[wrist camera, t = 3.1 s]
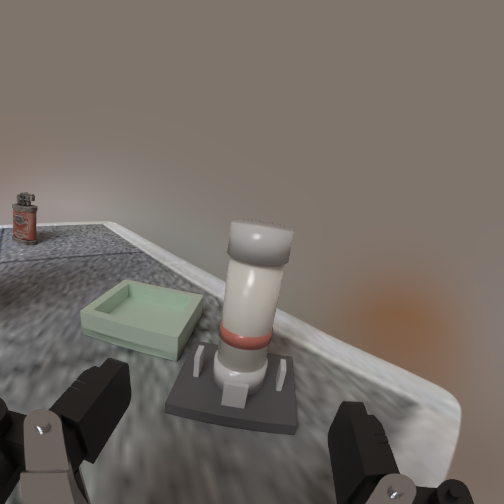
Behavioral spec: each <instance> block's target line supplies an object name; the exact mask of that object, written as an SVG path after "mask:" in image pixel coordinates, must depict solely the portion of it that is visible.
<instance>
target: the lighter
mask: <svg viewBox="0 0 504 504" xmlns="http://www.w3.org/2000/svg"><path fill="white" fill-rule="evenodd" d="M34 200H35V196H34V194H28V193H27V192H26V193H20V194H17V202H18V203H17V204H13V205H12V208H13V236H12V238H13V241H15V242H17V243H20V244H23V245H28V246H33V245H36V244H37V239H36V211H37V206H34V205H31V202H30V201H34Z"/></svg>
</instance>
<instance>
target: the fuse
mask: <svg viewBox="0 0 504 504" xmlns="http://www.w3.org/2000/svg"><path fill="white" fill-rule="evenodd" d="M293 233H294V231H293V230H292V229H290V228H288V227H285V226H281V225H277V224H273V223H267V222H261V221H253V220H233V221H231V228H230V235H229V244H228V251H227V253H228V255H229V256H230V259H229V266H228V274H227V282H226V289H225V297H224V305H223V313H222V319H221V324H220V332H219V335H220V338H219V346H218V350H217V351H216V353H215V357H214V367H213V381H214V383H215V384H216V386H217V387H219V388H220V389H221V390H223V388H224V382H225V380H226V381H231V382H237V383H243V384H249V387H248V392H247V395H249V394H253V393H255V392H257V391H259V390H260V389H261V388H262V386H263V382H264V378H265V374H266V369H267V364H268V360H267V358H266V356H267V352H268V347H269V344H270V341H271V336H272V331H273V322H274V317H275V312H276V307H277V302H278V297H279V292H280V287H281V281H282V276H283V271H284V265H285V264H287V263H288V261H289V255H290V250H291V244H292V239H293Z"/></svg>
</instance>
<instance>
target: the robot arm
mask: <svg viewBox="0 0 504 504" xmlns="http://www.w3.org/2000/svg"><path fill="white" fill-rule="evenodd" d="M130 400H131V385H130V374H129V366H128V364H127V363H125V362H122V361H119V360H115V359H112V358H108V359H107V360H106V361H105V362H104V363H103V364H102V365H101V366H100V367H97V366H93V367H91V368H89V369H87V370H85V371H84V372H83V373H82V374H81V375H80V376H79V377H78V378H77V381H74V383H73V384H72V385H71V387H69V388H68V389H67V390H66V391H65V392H64V393H63V395H62V396H61V397H60V398H59V399H58V400H57V401H56V402H55V403H54V405H53V406H52V407H51V408H50V409H49V410H43V409H41V410H35V411H32V412H31V413H29V414H28V415H24V414H20V413H16V412H13V411H9V410H8V408H7V406H6V404H5V402H4V401H3V400H2V399H1V398H0V504H5V502H6V501H7V499H8V497H9V496H10V494H11V492H12V491H13V489H14V488H15V486H16V484H17V483H18V481H19V480H21V489H22V496H23V502H24V504H91V503H90V500H89V497H88V493H87V490H86V487H85V483H84V479H83V476H82V472H81V468H80V464H81V463H82V461H83V460H86V461H88V462H90V463H92V464H94V462H95V461H96V459H97V457H98V456H99V454H100V452H101V451H102V449H103V447H104V446H105V444H106V442H107V441H108V439H109V437H110V436H111V434H112V432H113V431H114V429H115V427H116V426H117V424H118V423H119V421H120V419H121V418H122V416H123V414H124V413H125V411H126V410H127V408H128V406H129V404H130ZM328 447H329V453H330V459H331V466H332V472H333V479H334V485H335V492H336V500H337V504H474V503H473V500H472V497H471V495H470V492H469V490H468V488H467V486H466V485H465V484H464V483H463V482H461V481H458V480H455V479H450V480H446V481H444V482H443V483H441V484H440V485H439V487H438V488H428V487H418V486H415V484H414V482H413V481H412V480H411V479H410V478H408V477H407V476H405V475H402V474H400V473H399V470H398V467H397V464H396V461H395V459H394V456H393V453H392V450H391V448H390V445H389V444H388V439H387V437H386V436H385V431H384V429H383V426H382V424H381V423H380V421H379V420H378V419H377V418H376V417H375V416H374V415H368V414H367V411H366V408H365V406H364V403H363V402H349V401H343V402H342V403H341V405H340V407H339V409H338V411H337V414H336V416H335V418H334V420H333V422H332V425H331V427H330V429H329V433H328Z"/></svg>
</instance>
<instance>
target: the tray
mask: <svg viewBox="0 0 504 504" xmlns="http://www.w3.org/2000/svg"><path fill="white" fill-rule="evenodd" d="M203 297H204V295H200V294H194V293H189V292H184V291H179V290H174V289H169V288H164V287H159V286H154V285H150V284H145V283H140V282H136V281H131V280H127V279H125V280H123V281H122V282H120V283H119V284H117V285H116V286H115V287H113V288H112V289H110V290H109V291H107V292H106V293H105V294H103V295H102V296H100V297H99V298H97V299H96V300H95V301H93V302H92V303H90V304H89V305H88V306H86V307H85V308H84V309H82V310H81V311H80V318H81V327H82V334H84V335H87V336H90V337H93V338H96V339H99V340H102V341H105V342H108V343H111V344H115V345H118V346H121V347H125V348H128V349H131V350H135V351H138V352H142V353H146V354H149V355H153V356H157V357H161V358H165V359H169V360H173V361H177V360H178V359H179V357H180V355H181V353H182V351H183V349H184V347H185V345H186V343H187V342H188V340H189V338H190V336H191V334H192V332H193V330H194V328H195V327H196V325H197V323H198V321H199V319H200V317H201V315H202V307H203Z"/></svg>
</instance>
